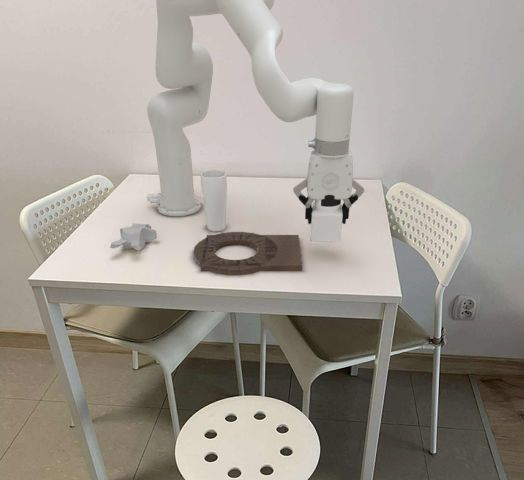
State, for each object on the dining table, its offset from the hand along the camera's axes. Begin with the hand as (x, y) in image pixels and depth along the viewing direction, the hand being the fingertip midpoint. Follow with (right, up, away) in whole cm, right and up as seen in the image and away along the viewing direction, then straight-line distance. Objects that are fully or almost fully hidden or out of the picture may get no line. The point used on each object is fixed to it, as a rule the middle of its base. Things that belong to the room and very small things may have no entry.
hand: (326, 221), depth 129 cm
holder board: (-19, -7, +5) cm, 21 cm away
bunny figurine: (-48, -4, +10) cm, 49 cm away
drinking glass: (-28, +2, +18) cm, 33 cm away
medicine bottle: (0, -3, +2) cm, 4 cm away
